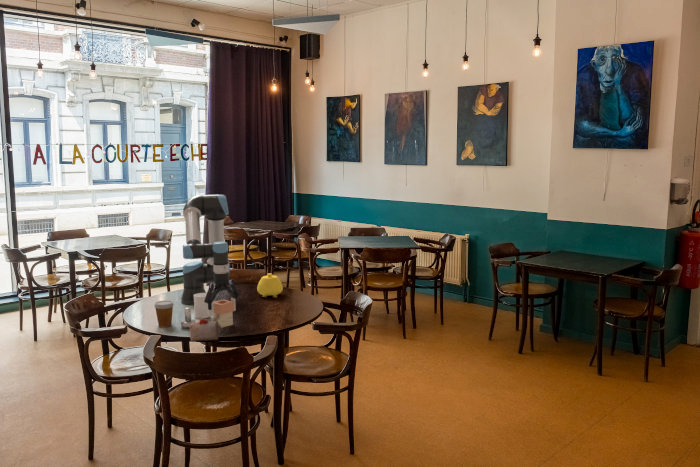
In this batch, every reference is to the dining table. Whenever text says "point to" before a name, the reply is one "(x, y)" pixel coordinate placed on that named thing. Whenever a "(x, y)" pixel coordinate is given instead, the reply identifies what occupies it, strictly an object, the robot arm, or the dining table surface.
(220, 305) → the collar
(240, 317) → the dining table surface
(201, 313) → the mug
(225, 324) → the pedestal
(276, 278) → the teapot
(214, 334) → the food item
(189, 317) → the hub
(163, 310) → the disposable coffee cup
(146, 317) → the dining table surface
